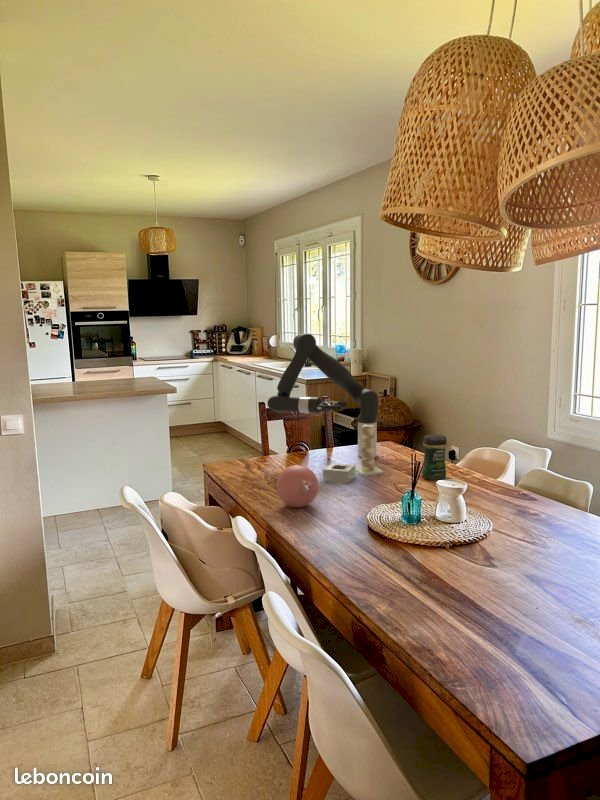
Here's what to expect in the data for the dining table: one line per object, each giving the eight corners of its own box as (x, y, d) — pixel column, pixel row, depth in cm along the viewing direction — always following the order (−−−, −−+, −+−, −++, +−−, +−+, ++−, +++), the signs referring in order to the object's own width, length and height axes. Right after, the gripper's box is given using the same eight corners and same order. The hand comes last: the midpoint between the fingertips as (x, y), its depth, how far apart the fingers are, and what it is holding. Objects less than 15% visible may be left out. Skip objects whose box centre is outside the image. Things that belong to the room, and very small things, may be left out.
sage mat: (353, 470, 257) (353, 468, 256) (373, 468, 260) (373, 465, 259) (362, 475, 247) (362, 473, 247) (383, 473, 250) (383, 471, 250)
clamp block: (323, 480, 241) (322, 469, 240) (331, 474, 251) (331, 463, 250) (347, 483, 237) (347, 471, 236) (355, 476, 247) (355, 465, 246)
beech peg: (362, 470, 252) (361, 426, 249) (364, 468, 256) (364, 424, 253) (371, 471, 250) (371, 426, 247) (374, 468, 254) (374, 425, 252)
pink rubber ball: (285, 519, 195) (284, 476, 193) (272, 501, 215) (271, 462, 212) (327, 514, 199) (327, 472, 197) (311, 497, 218) (311, 459, 216)
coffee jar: (427, 481, 238) (428, 437, 235) (419, 476, 245) (420, 434, 243) (449, 479, 239) (449, 436, 237) (440, 474, 247) (441, 432, 244)
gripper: (304, 399, 252) (338, 400, 246) (315, 394, 265) (348, 395, 259) (304, 416, 253) (339, 417, 247) (315, 410, 266) (348, 411, 260)
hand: (344, 406), depth 253 cm, fingers open, 8 cm apart
